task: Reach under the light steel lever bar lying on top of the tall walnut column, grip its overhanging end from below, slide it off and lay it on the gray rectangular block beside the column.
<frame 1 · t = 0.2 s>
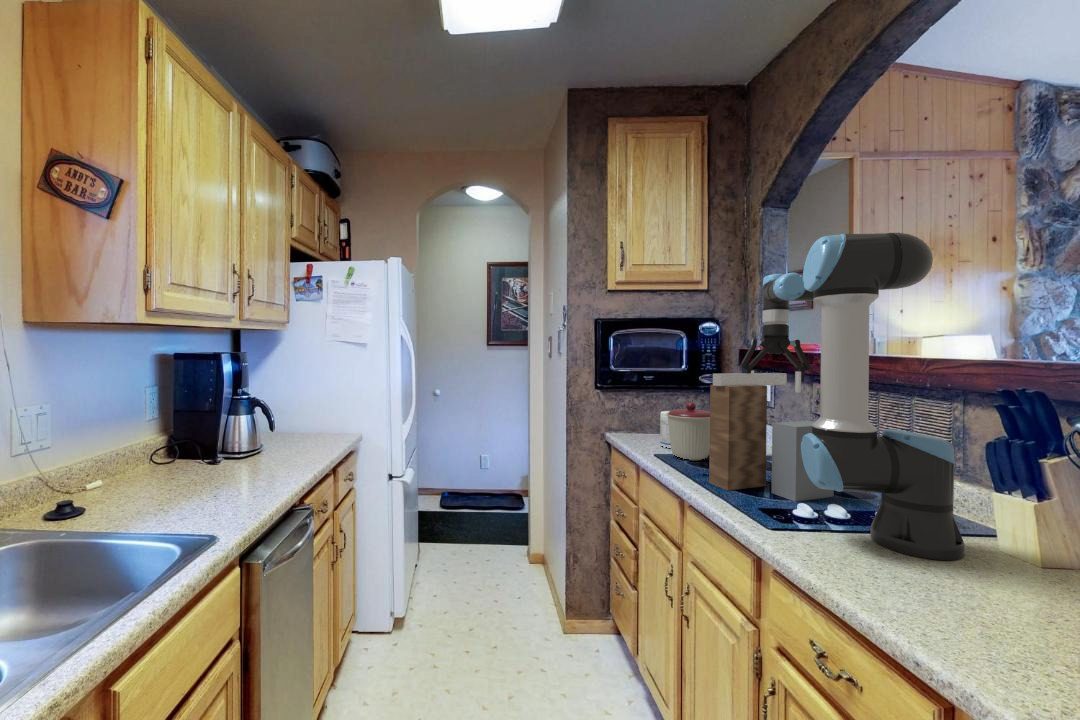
hand: (774, 391, 147), 28 cm above the worktop, tool pointing down, fingers open, 13 cm apart
gray rectangular block: (802, 494, 131), on the worktop
walnut column: (737, 484, 141), on the worktop
steel lever bar: (750, 385, 142), point 30 cm above the worktop, touching walnut column
supplement tub: (671, 447, 197), on the worktop
canister: (690, 458, 177), on the worktop
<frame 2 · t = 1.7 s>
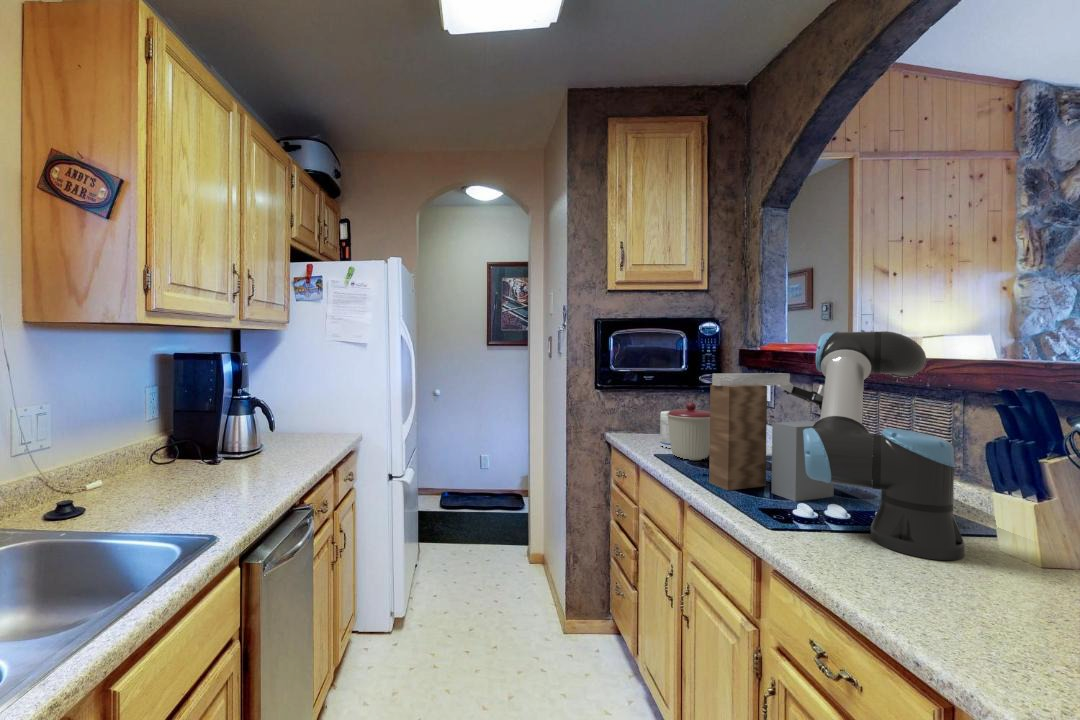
hand: (798, 385, 147), 30 cm above the worktop, tool pointing upward, fingers open, 13 cm apart
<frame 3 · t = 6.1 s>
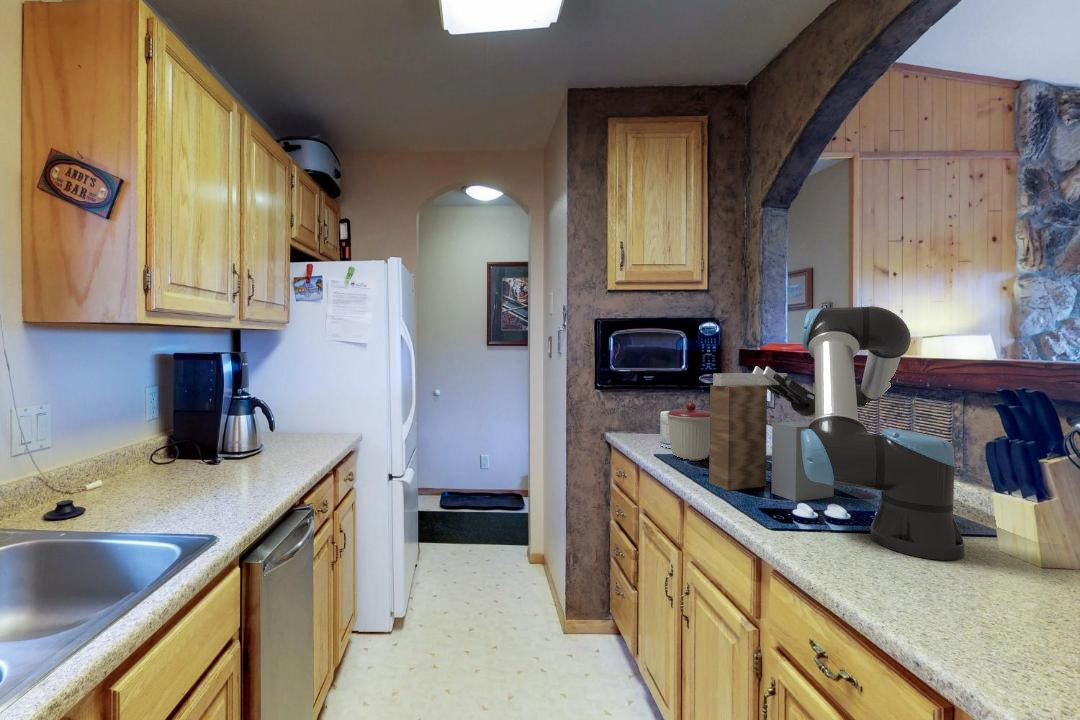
hand: (760, 370, 143), 34 cm above the worktop, tool pointing upward, fingers closed on steel lever bar, 3 cm apart
steel lever bar: (750, 385, 142), point 30 cm above the worktop, touching gripper, walnut column
everything else where it was.
when the fingers open (26 cm above the worktop, at t = 12.7 s): steel lever bar drops 1 cm, resting on gray rectangular block.
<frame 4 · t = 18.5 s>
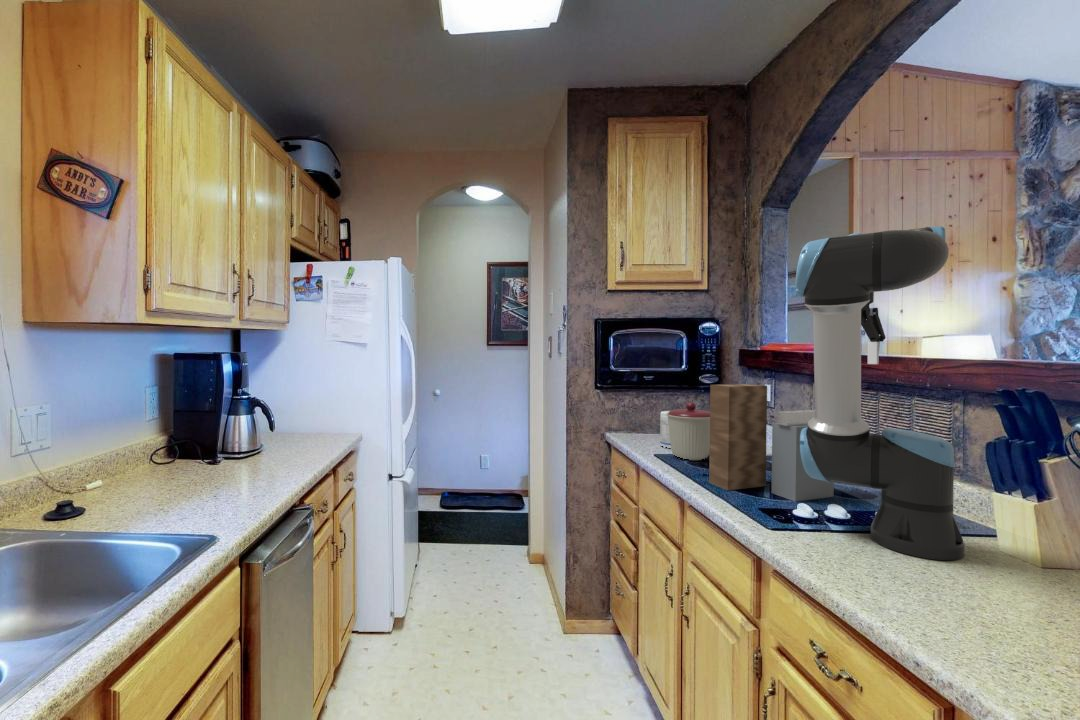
hand: (856, 364, 134), 37 cm above the worktop, tool pointing down, fingers open, 13 cm apart
steel lever bar: (815, 423, 132), point 20 cm above the worktop, touching gray rectangular block
everything else where it was.
at the end: steel lever bar inside the target area on the gray rectangular block (0.6 cm from its centre), point 20.0 cm above the gray rectangular block's base; steel lever bar touching gray rectangular block; the gripper is holding nothing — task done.
